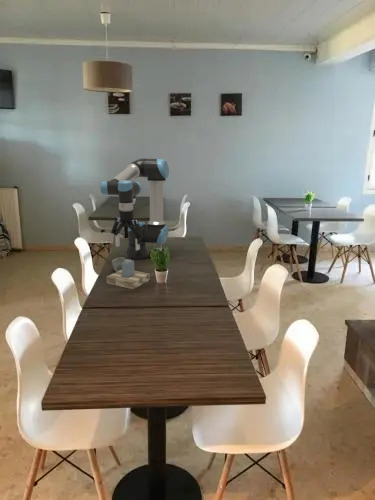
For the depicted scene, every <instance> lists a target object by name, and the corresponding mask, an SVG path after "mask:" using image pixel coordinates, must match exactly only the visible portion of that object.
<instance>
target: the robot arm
mask: <svg viewBox="0 0 375 500" xmlns="http://www.w3.org/2000/svg"><path fill="white" fill-rule="evenodd" d="M169 176H170V167H169V165H168V162H167V161H166V160H165V159H162V158H139V159H136V160H134V161H132V162H130V163H128V164H127V165H126V166H125V168H124V169H123V170H122V171H121V172H119V173H118V174H117V175H116V176H114V177H113V178H112V179H111V180H104V181H102V182H101V183H100V187H99V188H100V192H101V194H102V195H106V196H107V195H108V196H118V210H119V211H118V214H119V215H118V217H115V218H114V224H113V226H112V228H111V231H110V233H111V234H113V235H114V241H115V247H116V248H118V247H120V246H121V242H120V241H121V240H120V234H119V233H120V232H121V231H122V229H123V228H127V236H128V237H127V239H128V241H127V242H128V243H127V244H128V247H127V250H126V253H125V258H126V259H130V260H133V261H135V260H136V261H139V260H140V261H141V260H144V259H147V258H149V257H150V255H149V254H150V253H149V251H148V247H147V245H146V244H149V243H150V244H158V245H159V244H164V243H165V244H166V241H167V240H168V237H169V231H170V230H169V227H168V226H167V225H166V222H165V221H164V183H165V182H166V180H167V179H168V178H169ZM138 178H146V179H147V180H146V181H147V182H148V183H149V221H148V222H147V223H146V222H145V221H139V220H138V219H134V197H136V196H138V195H139V194H140V193H142V188H143V187H142V184H141V183H140V182H138V181H136V180H135V181H133V179H138Z"/></svg>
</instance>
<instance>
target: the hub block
mask: <svg viewBox="0 0 375 500" xmlns="http://www.w3.org/2000/svg"><path fill="white" fill-rule="evenodd" d="M134 274H135V275H133V276H131V277H129V278H126V277H122V270H120V271H118V272H116V271H115V272H113V273H111V274H109V275H107V276H106V284H108V285H113V286H116V287H121V288H126V289H129V290H135V289H136V288H138V287H141V286H142V285H144V284H146V283H148V282H149V280H150V281H151V274H150V273H148V272H147V273H146V272H142V271H137V270H134Z"/></svg>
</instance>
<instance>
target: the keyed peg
mask: <svg viewBox="0 0 375 500" xmlns="http://www.w3.org/2000/svg"><path fill="white" fill-rule="evenodd" d="M125 259H126V260H125V261H124V262H122V277H126V278H129V277H131V276H133V275H135V274H134V271H135V260H133V259H128V258H125Z"/></svg>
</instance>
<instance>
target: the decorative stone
mask: <svg viewBox="0 0 375 500" xmlns="http://www.w3.org/2000/svg"><path fill="white" fill-rule="evenodd" d="M126 259H127V258H126V257H121V256H119V257H116V258H113V259H112V260H111V264H112V268H113V270H114V271H115V273H116V272H118V271H120V270H122V262H124V261H125V260H126Z"/></svg>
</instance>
